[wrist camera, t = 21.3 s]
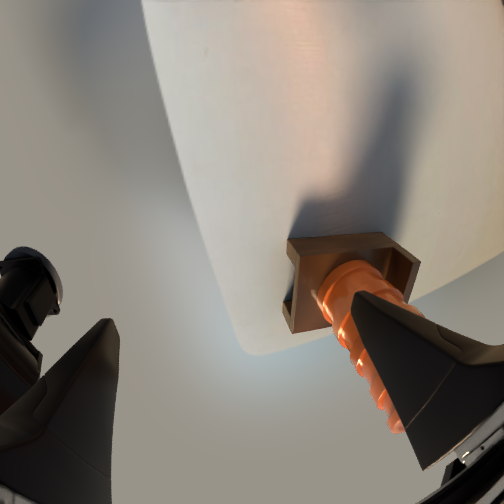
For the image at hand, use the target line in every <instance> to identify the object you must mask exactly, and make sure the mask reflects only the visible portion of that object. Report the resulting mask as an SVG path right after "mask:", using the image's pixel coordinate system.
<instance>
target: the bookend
mask: <svg viewBox="0 0 504 504" xmlns="http://www.w3.org/2000/svg"><path fill="white" fill-rule="evenodd" d="M287 255H288V257H289V258H290V260H291V261H292V263H293V264H294V266H295V278H294V289H293V299H292V301H286V302H283V312H282V313H283V315H284V317H285V319H286V322H287V324H288V326H289V329H290V331H291V333H292V334H294V333H300V332H305V331H311V330H316V329H321V328H326V327H331V326H332V324H331V323H329V322H328V321H327V320H326V319H325V318H324V316H323V314H322V313H321V311H320V310H319V307H318V304H317V296H318V291H319V289H320V286H321V284H322V283H323V281H324V280H325V278H326V277H327V276H328V275H329V274H330V273H331V272H332V271H333V270H334V269H335V268H337V267H338V266H340V265H342V264H343V263H346V262H348V261H352V260H365V261H367V262H370V263H371V264H372V265H373V266H374V267H375V268H376V269H377V270H379V272H380V273H381V274H382V276H383V279H384V280H386V281H389V282H391V283H392V284H393V285H394V286H395V287H396V288H397V289H398V290H399V291H400V292H401V293H402V295H403V297H404V302H405V303H406V304H407V303H408V301H409V298H410V295H411V292H412V289H413V286H414V283H415V280H416V276H417V273H418V270H419V267H420V263H421V261H420V260H418V259H417V258H416V257H415V256H413V255H412V254H411V253H409V252H408V251H407V250H405V249H404V248H403V247H401V246H400V245H399V244H398V243H396V242H395V241H393V240H392V239H391V238H389V237H388V236H387V235H385V234H384V233H382V232H375V233H362V234H348V235H335V236H322V237H309V238H296V239H287Z"/></svg>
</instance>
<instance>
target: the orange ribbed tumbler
mask: <svg viewBox="0 0 504 504" xmlns="http://www.w3.org/2000/svg"><path fill="white" fill-rule="evenodd" d="M362 290H365V291H368V292H370V293H372V294H374V295H376V296H378V297H381V298H383V299H385V300H387V301H389V302H391V303H393V304H396V305H398V306H400V307H402V308H404V309H406V310H408V311H411V312H413V313H415V314H417V315H419V316H421V317H423V318H425V317H424V315H423V314H422V313H421V312H420V311H419V310H418V309H417V308H416V307H415V306H412V305H409V304H406V303H405V302H404V297H403V295H402V293H401V292H400V291H399V290H398V289H397V288H396V287H395V286H394V285H393V284H392V283H391V282H389V281H386V280H384V279H383V276H382V274H381V273H380V272H379V270H377V269H376V268H375V267H374V266H373V265H372V264H371V263H370V262H367V261H365V260H352V261H348V262H346V263H343V264H342V265H340V266H338V267H337V268H335V269H334V270H333V271H332V272H331V273H330V274H329V275H328V276H327V277H326V278H325V280H324V281H323V283H322V284H321V286H320V289H319V291H318V296H317V304H318V307H319V310H320V311H321V313H322V314H323V316H324V318H325V319H326V320H327V321H328V322H329V323H331V324H332V328H333V332H334V334H335V336H336V337H337V339H338V341H339V342H340V344H341V345H342V346H343V347H344V348H346V349H348V350H349V351H350V360H351V363H352V364H353V366H354V368H355V369H356V371H357V373H358V374H359V375H360V376H362V377H365V378H366V379H367V381H368V383H369V384H370V386H371V387H370V395H371V397H372V399H373V400H374V402H375V404H376V406H377V407H378V408H379V409H380V410H385V412H386V414H387V415H388V417H389V418H388V421H387V425H388V427H389V429H390V430H391V432H392V433H393V434H399V433H402V432H405V429H404V427H403V424H402V422H401V420H400V418H399V416H398V414H397V412H396V409H395V407H394V405H393V403H392V401H391V399H390V397H389V395H388V393H387V391H386V389H385V387H384V385H383V383H382V381H381V379H380V377H379V375H378V373H377V371H376V369H375V367H374V365H373V363H372V361H371V359H370V357H369V355H368V353H367V351H366V349H365V347H364V345H363V343H362V341H361V338H360V335H359V333H358V330H357V328H356V325H355V323H354V321H353V318H352V316H351V312H350V308H351V304H352V300H353V296H354V293H355V292H357V291H362ZM425 319H426V318H425Z"/></svg>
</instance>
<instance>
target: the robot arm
mask: <svg viewBox="0 0 504 504" xmlns="http://www.w3.org/2000/svg"><path fill="white" fill-rule="evenodd" d="M36 261H37V262H38V263H37V262H36ZM0 274H1V279H0V504H112V498H111V480H110V479H111V454H112V453H111V452H112V435H113V421H114V411H115V401H116V392H117V384H118V374H119V349H120V337H119V334H118V331H117V329H116V326H115V324H114V321H113V320H112V319H111V318H104V319H101V320H100V321H98V322H97V323H96V324H95V325H94V326H93V327H92V328H91V329H90V330H89V331H88V332H87V333H86V334H85V335H84V336H83V337H82V338H80V340H78V342H76V343H75V344H74V345H73V346H72V347H71V348H70V349H69V350H68V351H67V352H66V353H65V354H64V355H63V356H62V357H61V358H60V359H59V360H58V361H57V362H56V363H55V364H54V365H53V366H52V367H51V368H50V369H49V370H48V371H47V372H46V373H45V376H42V377H41V378H40V372H41V364H42V357H43V355H42V354H41V352H40V351H38V350H37V349H36V348H35V347H34V346H33V345H32V343H31V342H30V341H31V340H32V339H33V337H34V335H35V333H36V331H37V329H38V327H39V326H41V325H42V324H43V322H44V320H45V318H46V316H47V315H57V314H59V312H60V307H59V305H58V303H57V300H56V298H55V295H54V293H53V290H52V288H51V285H50V283H49V280H48V277H47V275H46V272H45V269H44V266H43V263H42V260H41V259H40V257H38V256H35V257H27V258H19V259H11V260H3V261H0ZM55 309H56V310H55ZM350 312H351V316H352V318H353V321H354V323H355V325H356V328H357V330H358V333H359V335H360V338H361V341H362V343H363V345H364V347H365V349H366V351H367V353H368V355H369V357H370V359H371V361H372V363H373V365H374V367H375V369H376V371H377V373H378V375H379V377H380V379H381V381H382V383H383V385H384V387H385V389H386V391H387V393H388V395H389V397H390V399H391V401H392V403H393V405H394V407H395V409H396V412H397V414H398V416H399V418H400V420H401V422H402V424H403V427H404V429H405V431H406V434H407V436H408V438H409V440H410V443H411V445H412V447H413V450H414V452H415V454H416V457H417V459H418V461H419V464H420V466H421V468H422V470H423V471H425V470H426V469H428V468H430V467H431V466H433V465H434V464H436V463H437V462H438V461H440V460H442V459H443V458H444V457H446V456H447V455H449V454H450V453H451V452H452V451H455V453H456V454H457V456H458V458H457V459H455V460H454V461H453V462H451V463H450V464H449V465H447V466H446V469H445V473H444V476H443V480H442V483H441V487H440V488H439V489H437V490H436V491H434V492H433V493H431V494H430V495H428V496H427V497H425V498H424V499H422V500H421V501H419V502H417V503H416V504H504V344H503V345H497V346H491V345H486V344H484V343H481V342H479V341H476V340H473V339H471V338H468V337H466V336H463V335H461V334H458V333H456V332H453V331H451V330H449V329H447V328H445V327H442V326H440V325H438V324H435V323H434V322H432V321H430V320H428V319H425V318H423V317H421V316H419V315H417V314H415V313H413V312H411V311H408V310H406V309H404V308H402V307H400V306H398V305H396V304H393V303H391V302H389V301H387V300H385V299H383V298H381V297H378V296H376V295H374V294H372V293H370V292H368V291H365V290H362V291H357V292H355V293H354V296H353V300H352V304H351V308H350Z"/></svg>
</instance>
